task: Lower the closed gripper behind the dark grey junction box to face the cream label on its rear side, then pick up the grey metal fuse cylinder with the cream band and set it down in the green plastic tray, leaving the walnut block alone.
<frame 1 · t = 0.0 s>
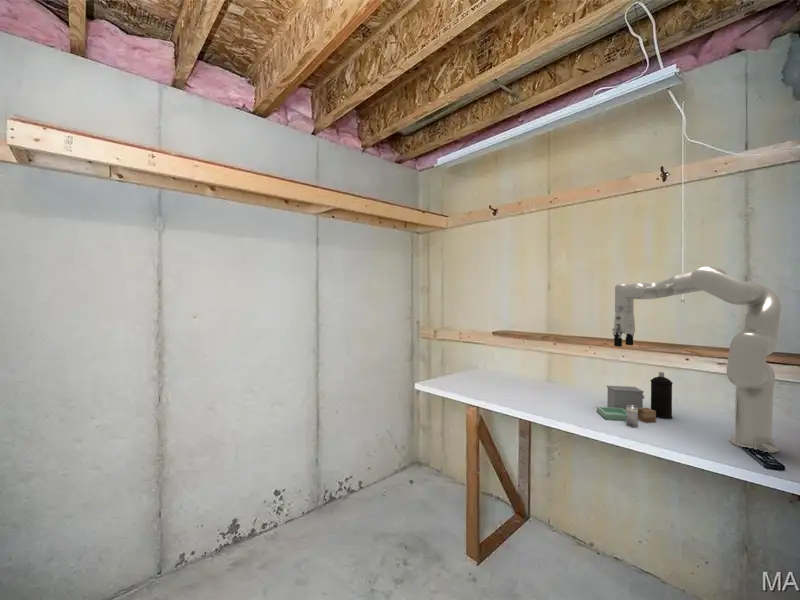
hand: (623, 345, 166), 31 cm above the table, tool pointing down, fingers open, 9 cm apart
walnut block: (645, 420, 153), on the table
aerosol can: (661, 416, 159), on the table
tray: (614, 416, 158), on the table
junction box: (624, 410, 167), on the table
fuse: (632, 425, 147), on the table
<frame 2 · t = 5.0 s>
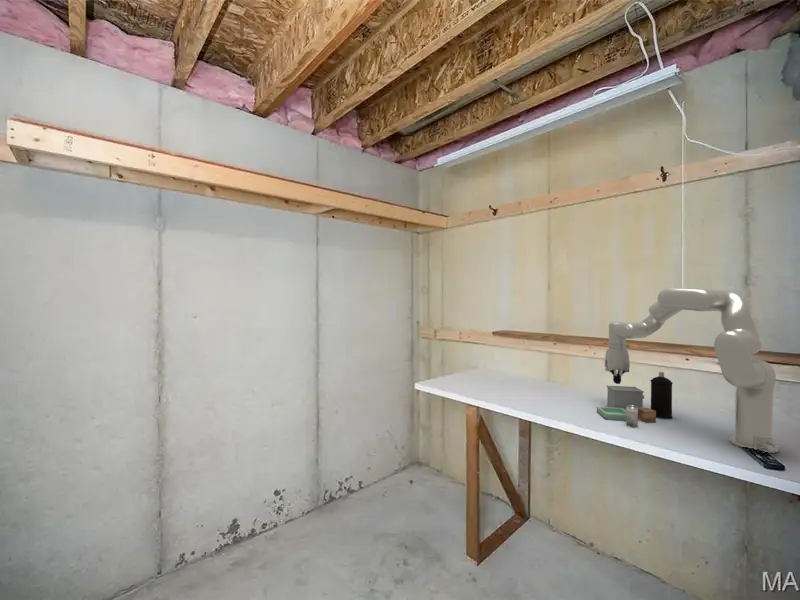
hand: (617, 383, 175), 11 cm above the table, tool pointing down, fingers closed
nothing on the table moved.
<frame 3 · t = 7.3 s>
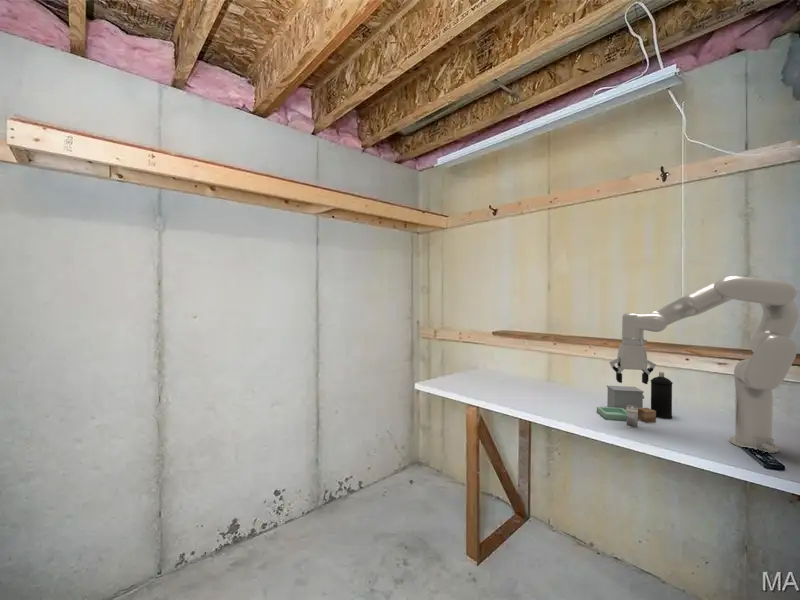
hand: (632, 382, 147), 18 cm above the table, tool pointing down, fingers open, 9 cm apart
nothing on the table moved.
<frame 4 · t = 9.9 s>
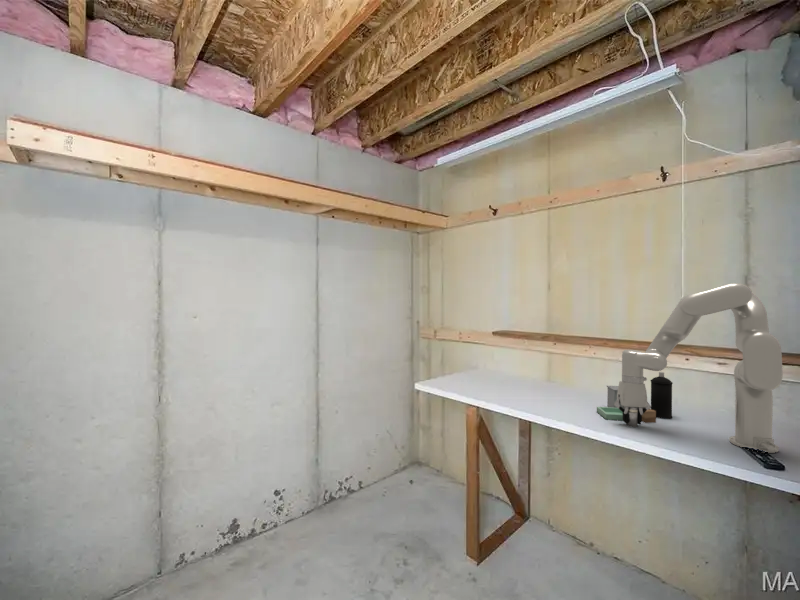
hand: (632, 422, 147), 1 cm above the table, tool pointing down, fingers closed on fuse, 4 cm apart
fuse: (631, 425, 147), on the table, touching gripper
everything else where it was.
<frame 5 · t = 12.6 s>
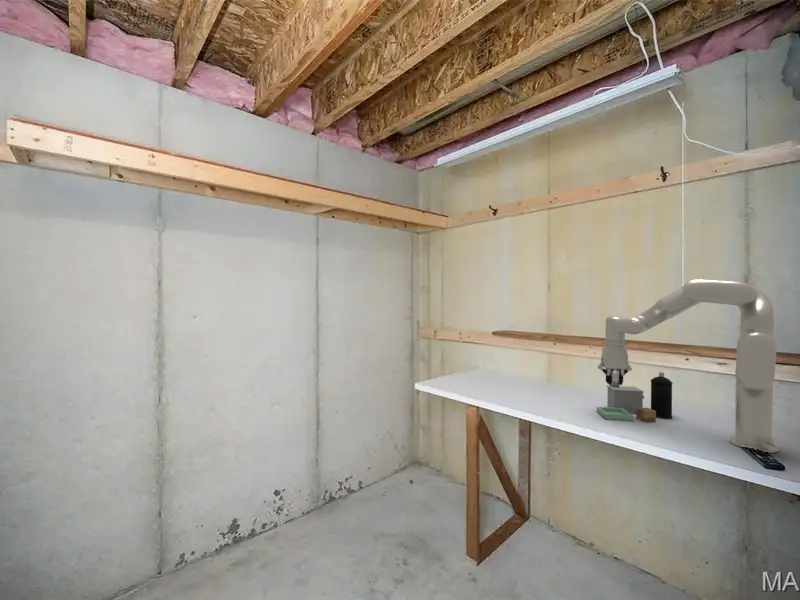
hand: (614, 383, 158), 15 cm above the table, tool pointing down, fingers closed on fuse, 4 cm apart
fuse: (614, 386, 158), point 14 cm above the table, touching gripper
everything else where it was.
when the fingers open (3 cm above the table, at t = 15.2 s): fuse drops 1 cm, resting on tray.
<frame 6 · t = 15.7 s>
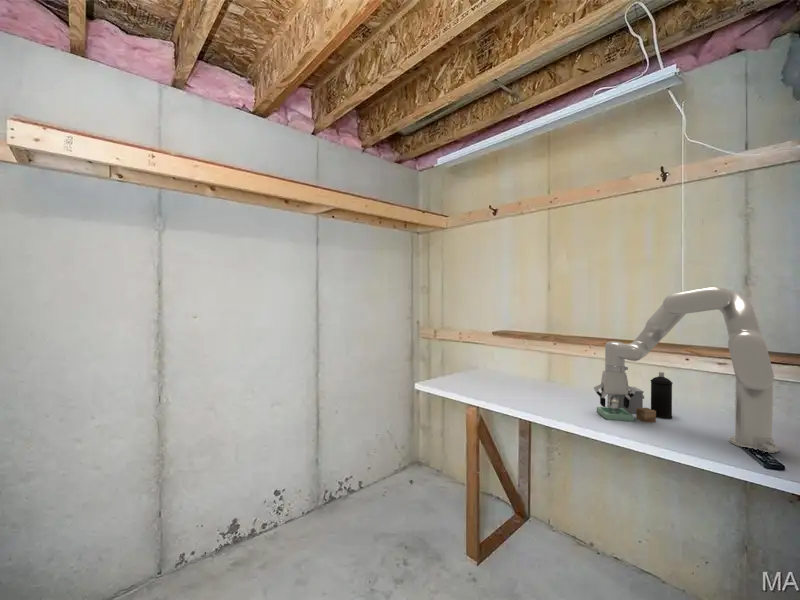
hand: (614, 406, 158), 4 cm above the table, tool pointing down, fingers open, 9 cm apart
fuse: (614, 415, 158), point 1 cm above the table, touching tray
everything else where it was.
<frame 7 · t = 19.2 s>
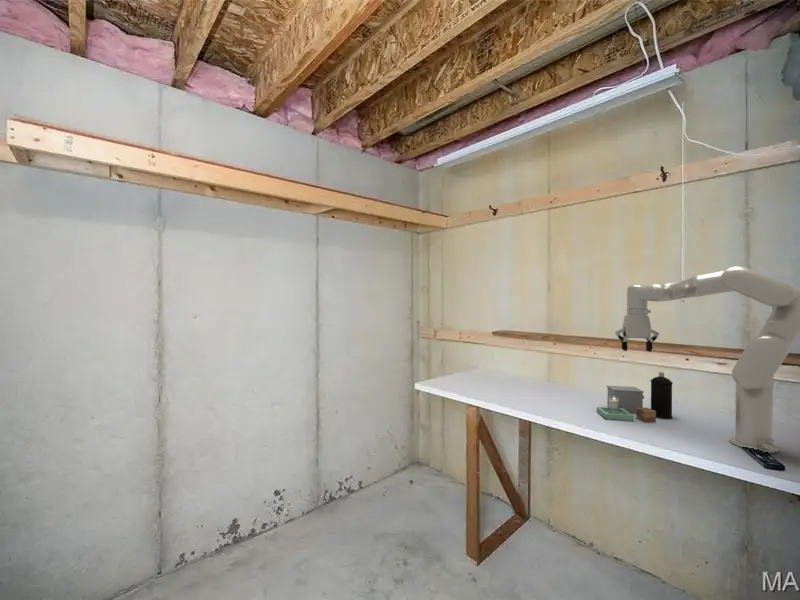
hand: (636, 350, 155), 30 cm above the table, tool pointing down, fingers open, 9 cm apart
nothing on the table moved.
at the end: fuse inside the target area on the tray (0.1 cm from its centre), point 0.7 cm above the tray's base; the gripper is holding nothing; walnut block moved 0.1 cm from its start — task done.
